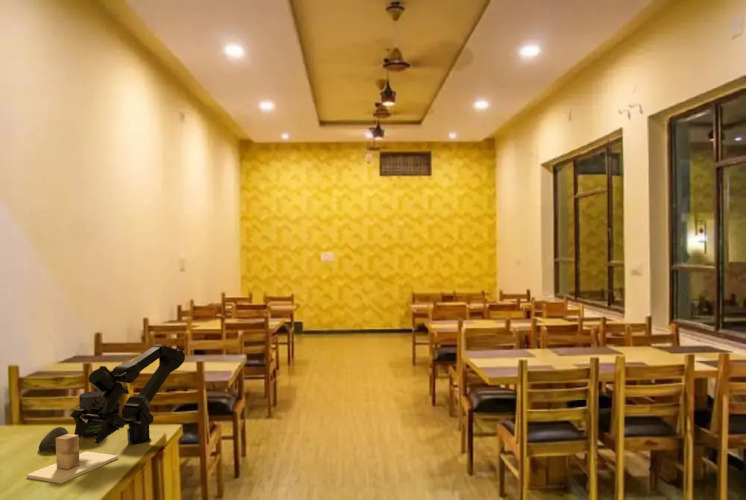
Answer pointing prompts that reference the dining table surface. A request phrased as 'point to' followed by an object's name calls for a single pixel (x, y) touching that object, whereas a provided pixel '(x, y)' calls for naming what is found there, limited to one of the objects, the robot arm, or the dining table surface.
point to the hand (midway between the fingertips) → (84, 442)
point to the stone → (52, 438)
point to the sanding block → (67, 451)
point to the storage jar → (95, 425)
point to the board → (86, 464)
